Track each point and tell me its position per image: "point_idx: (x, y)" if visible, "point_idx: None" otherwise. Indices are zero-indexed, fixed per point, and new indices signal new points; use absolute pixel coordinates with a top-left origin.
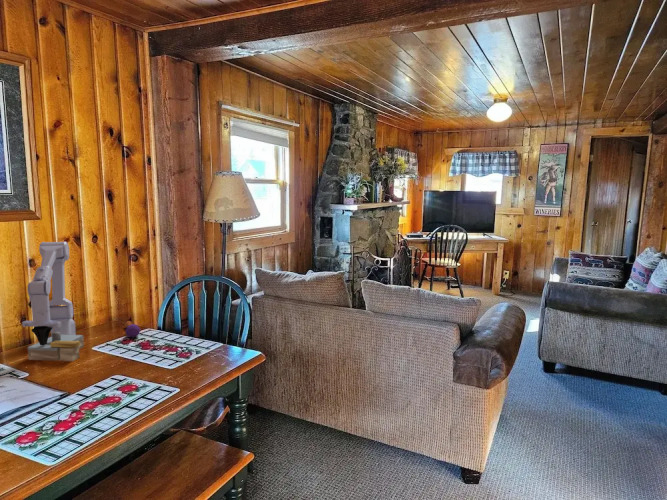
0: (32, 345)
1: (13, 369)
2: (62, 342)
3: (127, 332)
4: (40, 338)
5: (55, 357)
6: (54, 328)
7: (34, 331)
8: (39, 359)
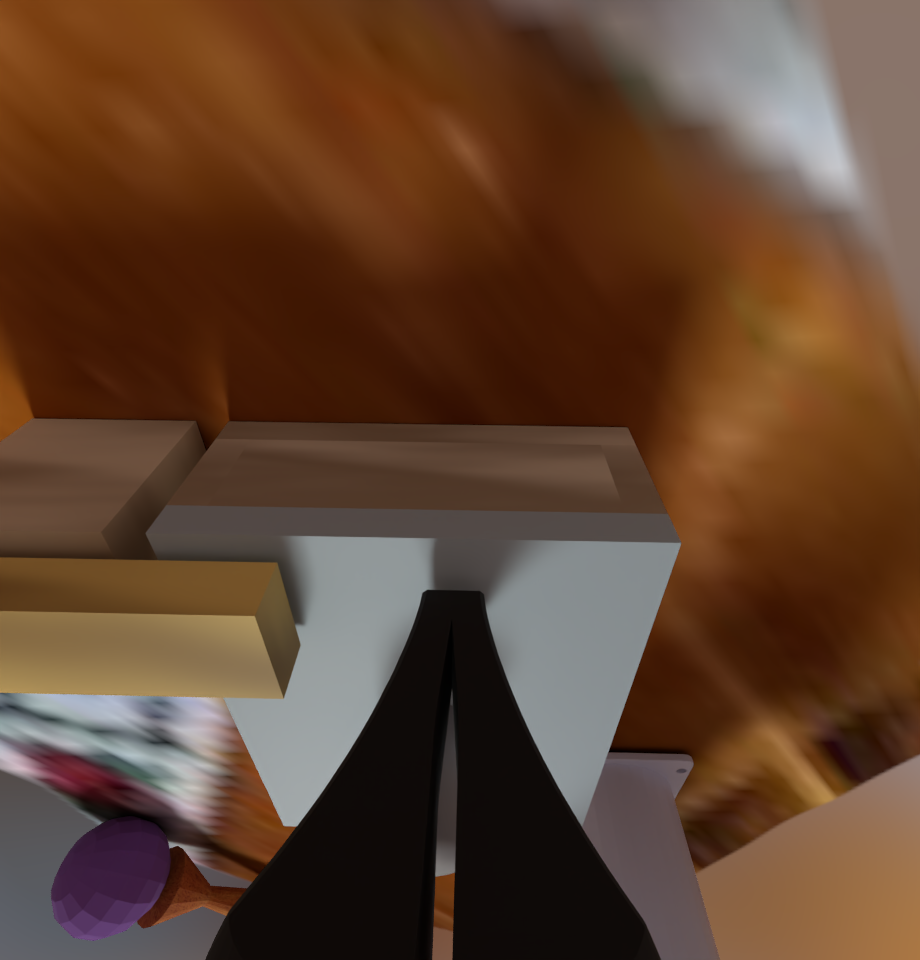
0: (647, 608)
1: (638, 6)
2: (72, 644)
3: (108, 860)
4: (437, 700)
5: (246, 445)
6: (649, 908)
7: (550, 909)
8: (478, 429)
